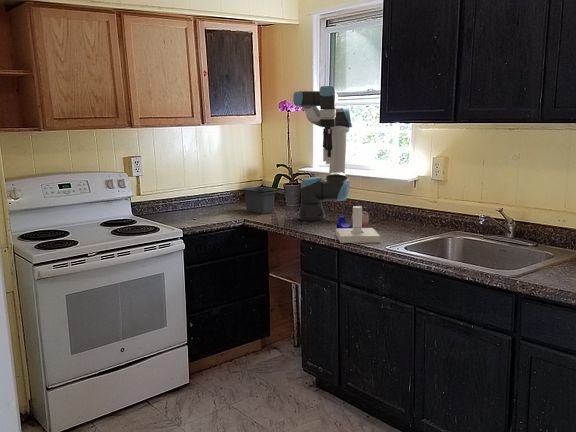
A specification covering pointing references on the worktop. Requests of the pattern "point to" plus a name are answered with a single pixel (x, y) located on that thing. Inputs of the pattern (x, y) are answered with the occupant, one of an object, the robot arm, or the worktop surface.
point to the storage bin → (259, 199)
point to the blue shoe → (343, 223)
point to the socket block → (357, 235)
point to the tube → (357, 219)
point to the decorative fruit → (363, 218)
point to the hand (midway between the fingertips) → (327, 162)
